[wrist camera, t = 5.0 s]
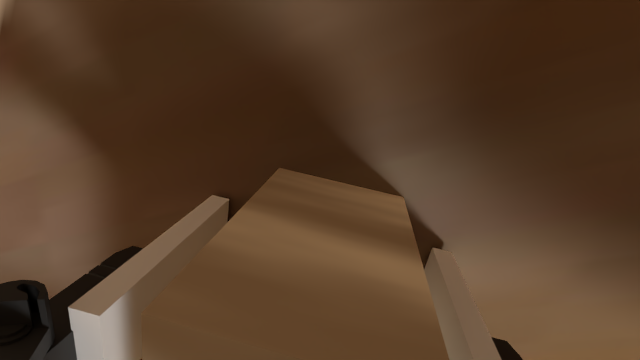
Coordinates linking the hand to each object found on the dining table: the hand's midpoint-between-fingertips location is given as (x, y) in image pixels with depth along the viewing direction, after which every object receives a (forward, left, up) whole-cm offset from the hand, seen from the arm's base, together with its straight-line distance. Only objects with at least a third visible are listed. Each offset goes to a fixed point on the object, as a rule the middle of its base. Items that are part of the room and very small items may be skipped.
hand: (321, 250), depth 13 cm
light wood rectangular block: (+5, 0, 0) cm, 5 cm away
